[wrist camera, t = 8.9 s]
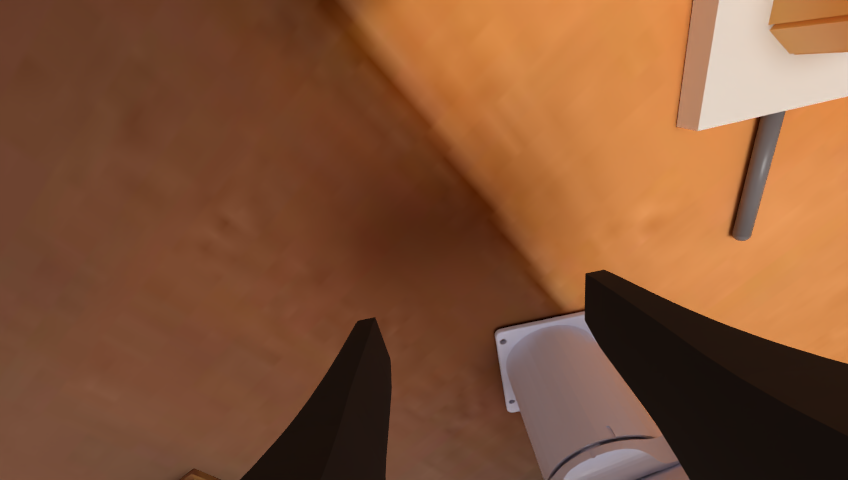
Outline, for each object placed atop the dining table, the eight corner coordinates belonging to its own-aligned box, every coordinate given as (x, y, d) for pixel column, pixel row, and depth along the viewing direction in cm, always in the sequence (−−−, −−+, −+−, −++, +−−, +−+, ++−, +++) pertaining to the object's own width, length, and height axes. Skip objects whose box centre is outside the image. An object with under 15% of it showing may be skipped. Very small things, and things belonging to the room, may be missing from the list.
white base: (810, 220, 22) (927, 262, 17) (659, 253, 22) (731, 303, 17) (954, -178, 13) (1269, -322, 9) (708, -113, 14) (873, -214, 9)
